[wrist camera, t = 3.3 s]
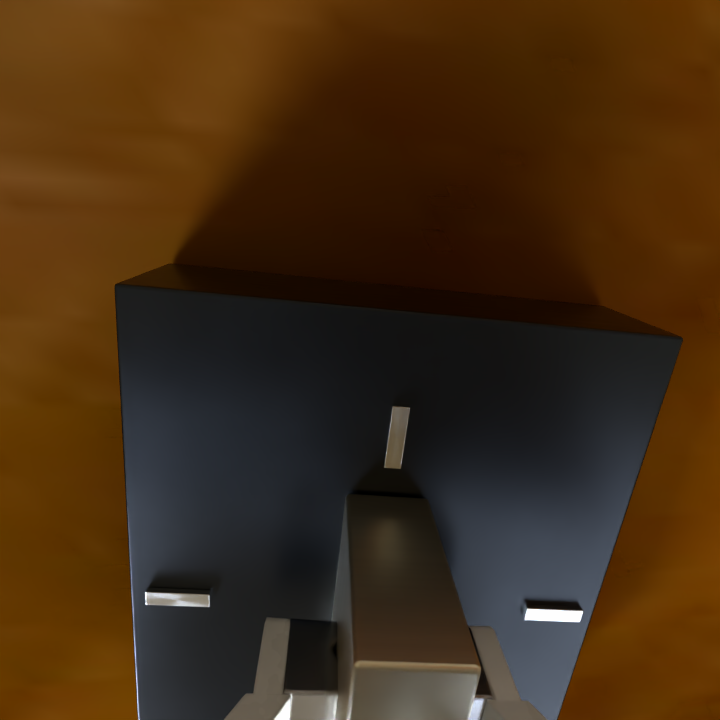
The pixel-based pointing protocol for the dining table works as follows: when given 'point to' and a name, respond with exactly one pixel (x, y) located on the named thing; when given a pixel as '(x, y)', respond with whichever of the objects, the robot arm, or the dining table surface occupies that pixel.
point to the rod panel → (368, 460)
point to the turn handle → (399, 617)
